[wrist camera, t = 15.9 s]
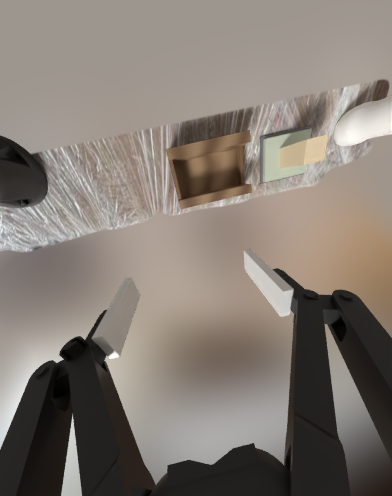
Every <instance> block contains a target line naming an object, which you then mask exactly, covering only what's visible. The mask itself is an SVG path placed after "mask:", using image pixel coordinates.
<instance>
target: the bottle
mask: <svg viewBox="0 0 392 496" xmlns="http://www.w3.org/2000/svg"><path fill="white" fill-rule="evenodd" d="M390 134H392V95H391V96H388V97H386V98H384V99H381V100H379V101H370V102H366V103H363V104H361V105H359V106H356V107H354V108H353V109H351V110H349V111H348V112H346V113H345V114H344V115H343V116H342V117H341V118H340V120H339V121H338V123H337V125H336V127H335V130H334V140H335V143H336V144H338V145H340V146H351V145H355V144H358V143H361V142H363V141H365V140H367V139H369V138H373V137H378V136H384V135H390Z"/></svg>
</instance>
